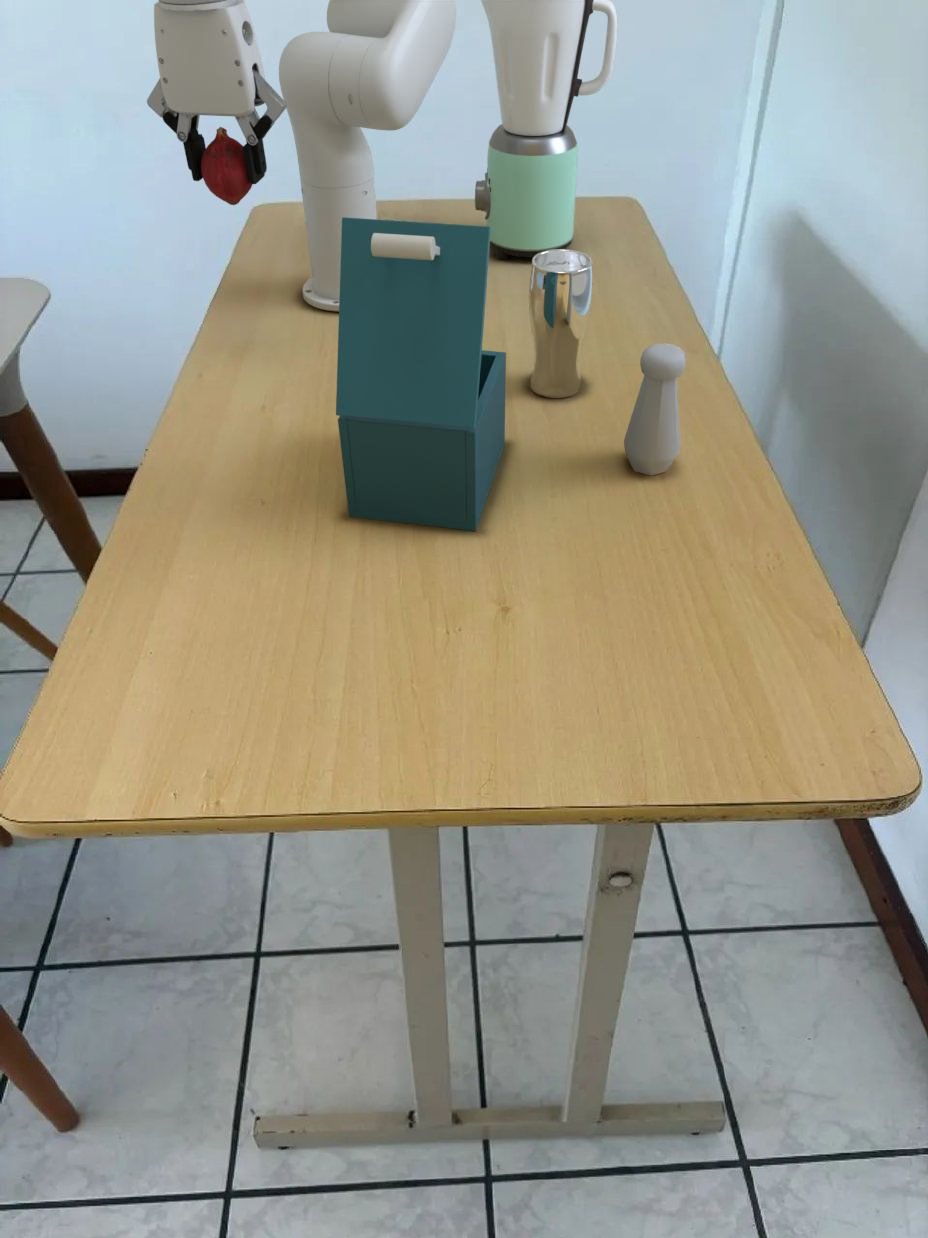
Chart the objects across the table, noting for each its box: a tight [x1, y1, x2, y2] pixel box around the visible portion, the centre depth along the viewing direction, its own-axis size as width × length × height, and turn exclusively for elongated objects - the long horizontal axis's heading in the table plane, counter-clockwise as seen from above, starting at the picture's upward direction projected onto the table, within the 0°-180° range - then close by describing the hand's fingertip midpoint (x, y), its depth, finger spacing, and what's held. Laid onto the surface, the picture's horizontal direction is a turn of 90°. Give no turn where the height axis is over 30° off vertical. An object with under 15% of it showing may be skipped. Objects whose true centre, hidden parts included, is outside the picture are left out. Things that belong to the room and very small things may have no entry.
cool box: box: [337, 349, 507, 532], centre depth 95 cm, size 16×13×11 cm
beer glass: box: [528, 248, 594, 399], centre depth 108 cm, size 7×7×15 cm
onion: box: [201, 126, 254, 206], centre depth 105 cm, size 6×6×8 cm
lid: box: [335, 217, 491, 429], centre depth 81 cm, size 17×13×5 cm
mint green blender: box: [474, 0, 619, 260], centre depth 134 cm, size 19×13×35 cm
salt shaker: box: [623, 342, 687, 476], centre depth 96 cm, size 6×6×13 cm
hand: (229, 176), depth 106 cm, fingers closed on onion, 5 cm apart
